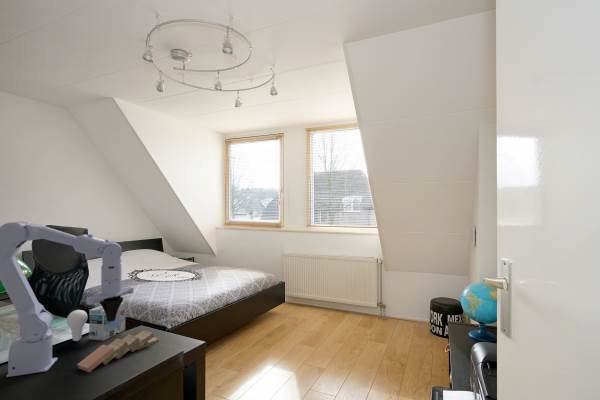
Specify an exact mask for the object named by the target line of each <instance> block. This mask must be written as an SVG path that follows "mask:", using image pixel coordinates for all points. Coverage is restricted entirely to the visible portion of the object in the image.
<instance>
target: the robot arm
mask: <svg viewBox="0 0 600 400" xmlns="http://www.w3.org/2000/svg"><path fill="white" fill-rule="evenodd" d="M35 240H46V241H50V242H54V243H58V244H62V245H63V244H64V245H66V246H69V247H73V249H74V251H75V252H77V253H80V254H81V253H82V254H84V255H88V256H91V257H96V258H99V257H100V258H101V259H102V260H101V262H102V265H101V269H100V272H101V273H100V293H97V294H94V295H92V296H88V297H86V305H89V306H90V305H94V304H96V303H99V304H100V306H102V307H103V309H104V311H105V314H106V317H107V321H114V320H115V318H116V314H117V311H118V309H119V306H120V305H121V303H123V302H124V301H123V300H124V297H123V296H126V295H131V294H134V287H131V286H130V287H129V286H128V287H124V288H122V258H121V256H122V254H123V252H122V250H123V249H122V247H121V245H120V244H119V243H118V242H115V241H110V240H109V239H102V238H98V237H96V236H95V237H94V234H91V233H88V234H82V235H74V234H70V233H68V232H64V231H61V230H58V229H55V228H51V227H48V226H46V225H42V224H37V223H28V222H26V221H16V222H7V223H6V222H5V223H4V224H2V225H1V226H0V282H1V284H2V286H3V287H4V290H5V291H6V293H7V296H8V297H9V299H10V301H11V303H12V304H13V306H14V308H15V311H16V312H17V323H18V325H19V337H20V339H16V340H13V342H11V345H10V347H9V350H8V354H7V355H8V356H7V357H8V358H7V359H8V361H7V364H8V365H7V368H8V369H7V374H6V378H9V377H16V376H24V375H29V374H31V375H32V374H36V373H43V372H48V371H49V369H50V368H51V367H52V366H53V365H54V364H55V362H57V360H58V357H53V332H52V331H51V329H50V327H51V326H53V325H52V324H53V322H54V315H53V314H52V313H51V312H49V311H48V310H46V308H45V306H44V305H42V303H40V302H39V301H38V299H37V297H36V294H35V293H34V291H33V289H32V287H31V285H30V283H29V281H28V279H27V277H26V275H25V273H24V270H23V269H22V268H21V267H22V266H21V265H20V263H19V261H18V260H17V258H16V255H17V253H18V251H19V250H20V249H21V247H22V246H23V245H24V244H25V243H27V241H29V242H30V241H35Z"/></svg>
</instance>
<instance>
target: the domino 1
mask: <svg viewBox="0 0 600 400" xmlns="http://www.w3.org/2000/svg"><path fill="white" fill-rule="evenodd" d="M113 352H115V351H114V349H113V347H110V346H108V345H106V344H102V345H100V346H99V347H98V348H96V349H95V350H93V351H92V352H91V353H90V354H89V355H88V356H86V357H84V359H82V360H81V361H79V362H78V363H77V367H78V369H79V370H82V371H85V372H87V373H91V372H92V371H93V370H94V369H96V368H97V367H98V366H99V365H100V364H101V362H103V361H104V360H105V359H106V358H107V357H109V356H110V355H111V354H112V353H113Z"/></svg>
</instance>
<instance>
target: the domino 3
mask: <svg viewBox="0 0 600 400" xmlns="http://www.w3.org/2000/svg"><path fill="white" fill-rule="evenodd" d="M121 340H124V341H127V343H128V346H127V347H125V348H124V349H123V350H122V351H121V352H120V353H119V354H117V355H116V356H115V357H114V358H113V359H114V360H115V359H116V360H119V359H121V358H122V357H123V356H124V355H126V353H127V352H130V351H129V350H130V349H131V348H132V347H133V346H134V345H135V344H137V343H138V342H139V341H140V340H139V338H138V337H136V335H132V334H127V335H126V336H125V337H123V338H122V339H121Z"/></svg>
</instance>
